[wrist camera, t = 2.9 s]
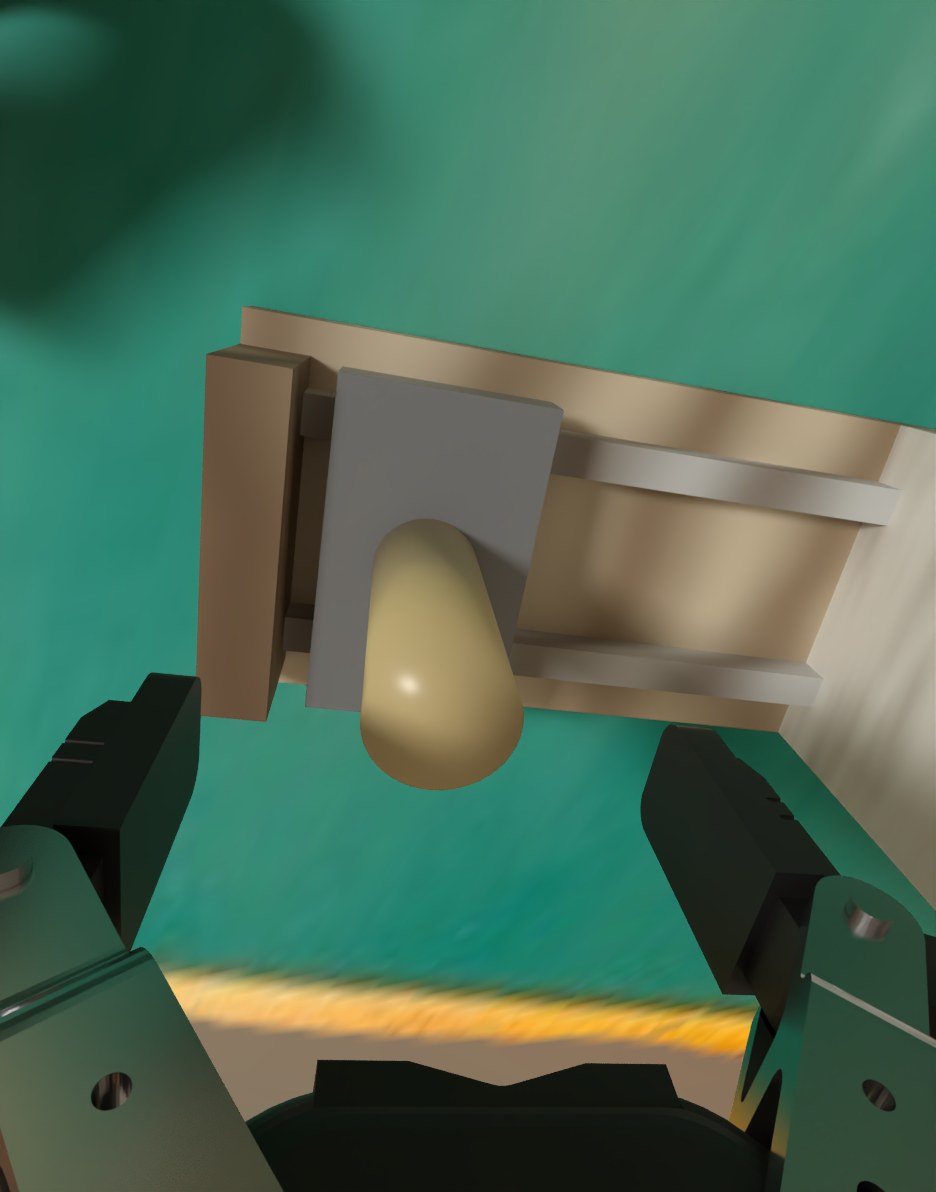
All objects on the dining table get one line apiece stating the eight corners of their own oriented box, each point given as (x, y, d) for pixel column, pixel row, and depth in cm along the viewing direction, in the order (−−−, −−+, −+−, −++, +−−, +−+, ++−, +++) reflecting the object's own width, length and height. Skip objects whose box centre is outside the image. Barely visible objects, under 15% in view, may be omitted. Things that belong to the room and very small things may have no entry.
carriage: (551, 401, 20) (672, 482, 11) (488, 698, 24) (543, 931, 15) (342, 366, 19) (299, 424, 11) (310, 680, 23) (258, 917, 14)
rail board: (1044, 449, 25) (1438, 541, 16) (908, 731, 30) (1150, 935, 20) (252, 306, 21) (132, 313, 12) (233, 660, 26) (136, 878, 16)
